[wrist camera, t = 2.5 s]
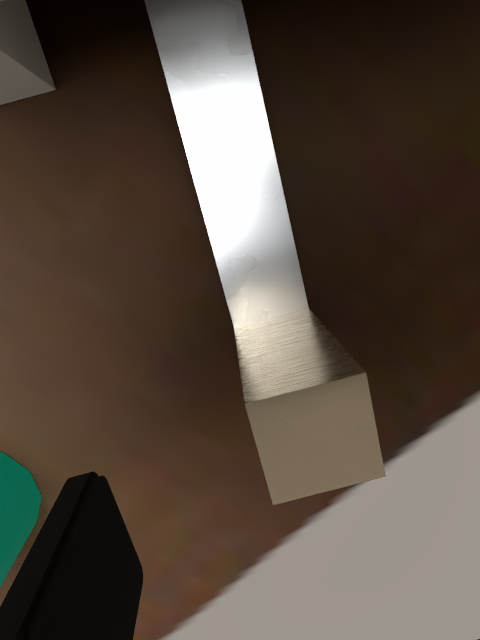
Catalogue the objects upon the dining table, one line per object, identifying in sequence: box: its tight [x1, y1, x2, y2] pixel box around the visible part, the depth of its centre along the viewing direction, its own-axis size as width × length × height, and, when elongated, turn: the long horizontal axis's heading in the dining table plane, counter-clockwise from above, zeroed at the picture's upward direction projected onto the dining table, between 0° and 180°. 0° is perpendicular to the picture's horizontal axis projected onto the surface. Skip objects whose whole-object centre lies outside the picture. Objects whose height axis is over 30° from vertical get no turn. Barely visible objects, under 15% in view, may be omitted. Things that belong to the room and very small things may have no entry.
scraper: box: [144, 0, 385, 505], centre depth 13 cm, size 19×7×10 cm, turn 14°
